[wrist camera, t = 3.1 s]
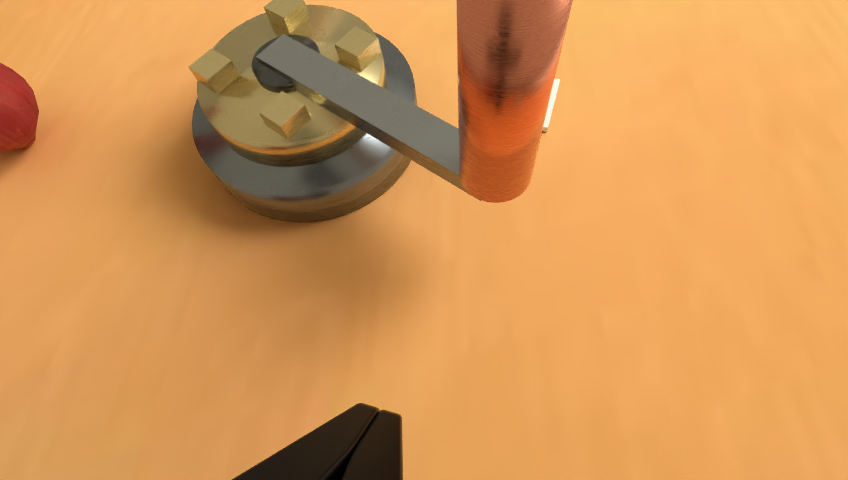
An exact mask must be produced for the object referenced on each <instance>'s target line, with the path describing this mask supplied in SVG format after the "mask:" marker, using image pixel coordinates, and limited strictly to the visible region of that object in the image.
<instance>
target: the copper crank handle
mask: <svg viewBox="0 0 848 480" xmlns="http://www.w3.org/2000/svg"><path fill="white" fill-rule="evenodd" d="M572 1H573V0H457V49H458V115H459V129H458V128H456V127H454V126H452V125H450V124H449V123H447V122H445V121H443V120H441V119H439V118H438V117H436V116H434V115H432V114H430V113H428V112H426V111H425V110H423V109H421V108H419V107H417V106H415V105H414V104H412V103H410V102H408V101H406V100H404V99H403V98H401V97H399V96H397V95H395V94H393V93H392V92H390V91H388V81H387V76H386V70H385V65H384V60H383V55H382V50H381V46H380V43H379V40H378V37H377V36H376V35H375V33H374V32H373V30H372V29H371V28H370V27H369V26H368V25H367V24H366V23H365V22H364V21H362V20H361V19H360V18H358V17H356V16H355V15H353V14H351V13H348V12H346V11H344V10H341V9H337V8H333V7H328V6H321V5H305V2H304V1H303V0H272V1H271V2H270V3H268V4H267V5H266V6H265V7H264V9H265V11H266V13H264V14H261V15H258V16H256V17H254V18H252V19H250V20H248V21H246V22H244V23H243V24H241V25H239V26H238V27H236V28H235V29H233V30H232V31H231V32H229V33H228V34H227V35H226V36H225V37H223V38H222V39H221V40H220V41H219V42H218V43H217V44H216V45H215V47H214V48H213V49H210V50H209V51H208V52H207V53H205V54H204V55H203V56H202V57H200V58H199V59H198V60H197V61H195V62H194V63H193V64H192V65H190V66H189V69H190V70H191V72H192V73H193V75H194V76H195V78H196V79H197V80H198V82H197V94H198V100H199V103H200V106H201V109H202V110H203V112H204V114H205V116H206V117H207V118H208V120H209V121H210V122H211V124H212V125H213V126H214V128H215V129H216V130H217V132H218V133H219V135H220V136H221V137H222V139H223V140H224V141H225V142H226V144H227V145H228V146H229V147H230V148H231V149H232V150H233V151H235V152H236V153H237V154H239V155H240V156H242V157H244V158H246V159H248V160H250V161H253V162H255V163H259V164H263V165H268V166H275V167H294V166H303V165H308V164H313V163H316V162H320V161H323V160H326V159H328V158H331V157H333V156H335V155H338V154H339V153H341V152H343V151H345V150H346V149H348V148H350V147H351V146H352V145H354V144H355V143H357V142H358V141H359V140H360V139H361V138H363V137H364V136H365V135H366V134H369V135H371V136H372V137H374V138H376V139H377V140H379V141H381V142H382V143H384V144H386V145H387V146H389V147H391V148H392V149H394V150H396V151H398V152H399V153H401V154H403V155H404V156H406V157H408V158H409V159H411V160H413V161H414V162H416V163H418V164H419V165H421V166H423V167H424V168H426V169H428V170H429V171H431V172H433V173H435V174H436V175H438V176H440V177H441V178H443V179H445V180H446V181H448V182H450V183H451V184H453V185H455V186H456V187H458V188H460V189H461V190H463V191H465V192H466V193H468V194H470V195H471V196H473V197H475V198H477V199H478V200H480V201H481V200H483V201H486V202H493V203H499V202H506V201H509V200H512V199H514V198H516V197H518V196H519V195H521V194H522V193H523V192H524V191H525V190H526V188H527V187H528V185H529V183H530V180H531V176H532V172H533V168H534V163H535V159H536V155H537V151H538V146H539V142H540V138H541V133H542V129H543V125H544V121H545V116H546V112H547V108H548V103H549V99H550V95H551V91H552V86H553V82H554V78H555V73H556V69H557V65H558V61H559V56H560V52H561V48H562V43H563V39H564V35H565V31H566V26H567V22H568V18H569V13H570V9H571V5H572Z"/></svg>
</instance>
